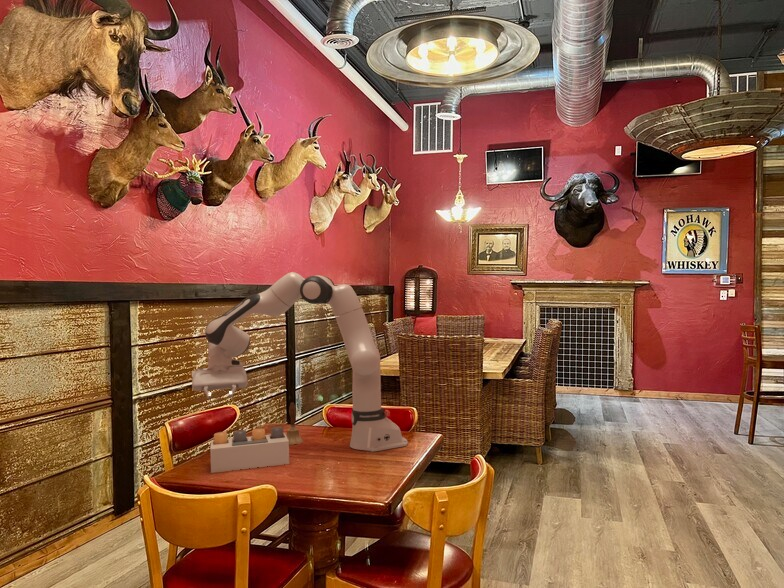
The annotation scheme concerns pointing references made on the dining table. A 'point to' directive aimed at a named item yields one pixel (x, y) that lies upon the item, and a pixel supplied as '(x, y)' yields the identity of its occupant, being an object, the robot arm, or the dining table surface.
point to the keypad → (249, 453)
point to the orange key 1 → (220, 438)
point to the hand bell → (293, 428)
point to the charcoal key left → (276, 432)
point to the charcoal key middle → (239, 436)
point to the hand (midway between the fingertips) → (220, 397)
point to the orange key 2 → (258, 434)
